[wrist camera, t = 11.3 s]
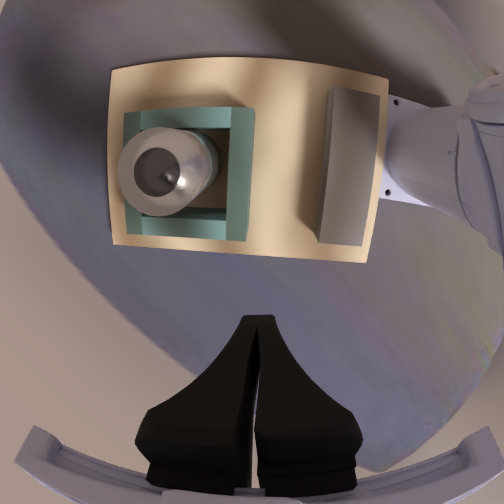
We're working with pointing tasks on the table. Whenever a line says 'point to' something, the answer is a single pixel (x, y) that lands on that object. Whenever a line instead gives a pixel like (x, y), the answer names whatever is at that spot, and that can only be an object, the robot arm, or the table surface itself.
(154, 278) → the table surface
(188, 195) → the bushing
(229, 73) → the jig
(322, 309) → the table surface
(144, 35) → the table surface
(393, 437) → the table surface
